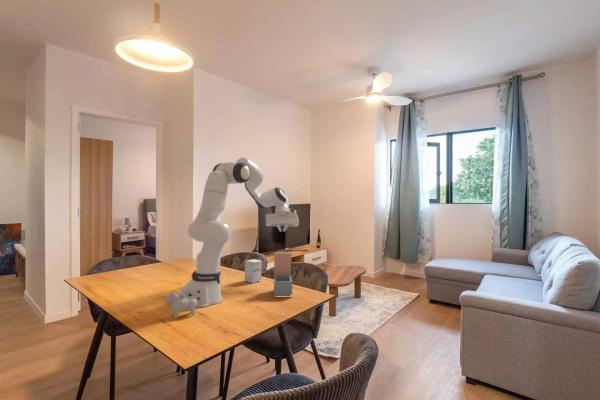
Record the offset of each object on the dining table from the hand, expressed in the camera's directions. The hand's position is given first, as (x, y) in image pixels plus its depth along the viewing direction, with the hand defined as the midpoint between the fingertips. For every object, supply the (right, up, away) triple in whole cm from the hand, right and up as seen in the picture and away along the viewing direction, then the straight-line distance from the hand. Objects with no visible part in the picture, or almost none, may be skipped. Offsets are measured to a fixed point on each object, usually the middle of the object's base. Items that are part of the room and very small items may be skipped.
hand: (282, 230), depth 179 cm
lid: (+1, -17, -14) cm, 22 cm away
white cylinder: (-18, -31, +3) cm, 36 cm away
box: (+1, -31, -19) cm, 37 cm away
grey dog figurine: (-40, -31, -52) cm, 73 cm away
